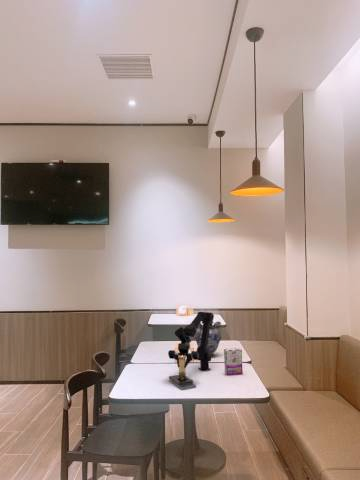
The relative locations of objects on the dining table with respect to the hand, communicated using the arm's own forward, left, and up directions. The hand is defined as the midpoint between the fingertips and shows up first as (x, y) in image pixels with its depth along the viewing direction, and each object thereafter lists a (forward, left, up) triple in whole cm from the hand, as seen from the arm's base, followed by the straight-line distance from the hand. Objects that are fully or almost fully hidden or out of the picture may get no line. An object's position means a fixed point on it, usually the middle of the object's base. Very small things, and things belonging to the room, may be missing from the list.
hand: (181, 367), depth 218 cm
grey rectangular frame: (-1, +1, -10) cm, 11 cm away
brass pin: (-1, +1, -7) cm, 7 cm away
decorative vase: (-52, +48, -11) cm, 71 cm away
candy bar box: (-4, +40, -11) cm, 41 cm away
